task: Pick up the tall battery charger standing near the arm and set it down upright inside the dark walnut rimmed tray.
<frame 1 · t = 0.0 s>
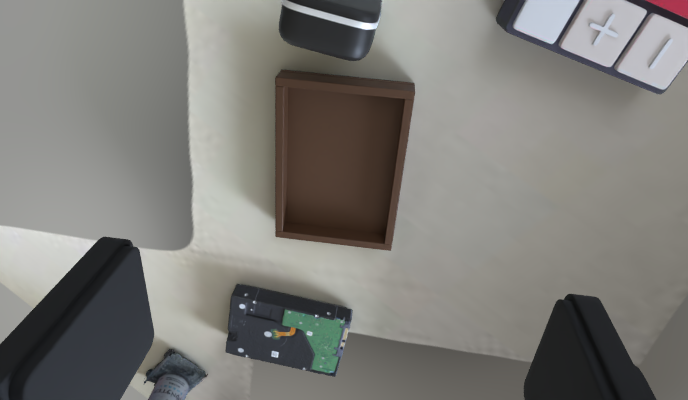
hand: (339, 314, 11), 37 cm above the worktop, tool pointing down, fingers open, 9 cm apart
tray: (341, 160, 50), on the worktop
disk drive: (290, 322, 63), on the worktop
grey cylinder on base: (179, 368, 70), on the worktop
battery charger: (341, 4, 42), on the worktop
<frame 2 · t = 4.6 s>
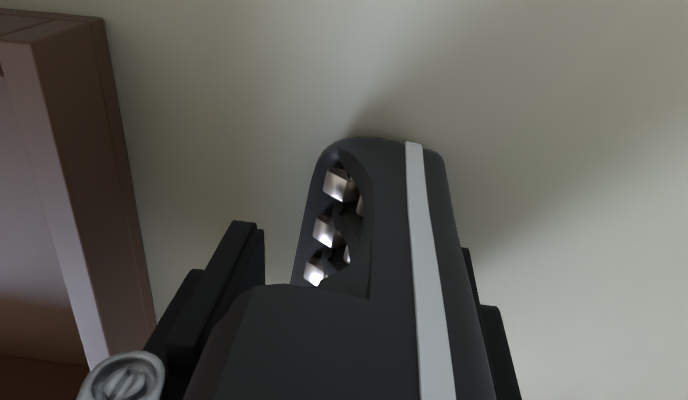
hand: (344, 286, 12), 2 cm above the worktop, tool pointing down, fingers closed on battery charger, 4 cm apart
battery charger: (346, 229, 14), on the worktop, touching gripper
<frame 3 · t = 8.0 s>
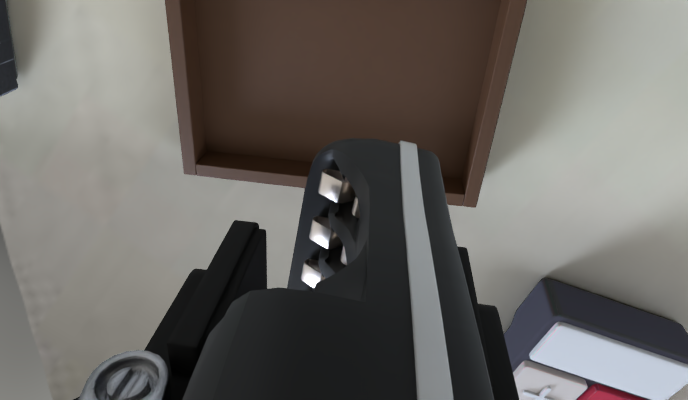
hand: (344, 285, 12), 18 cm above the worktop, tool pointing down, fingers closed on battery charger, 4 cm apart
calculator: (554, 364, 38), on the worktop
tray: (339, 74, 28), on the worktop
battery charger: (342, 230, 14), point 16 cm above the worktop, touching gripper
when the fingers open (3 cm above the worktop, at t = 11.8 s): battery charger stays where it is, resting on tray.
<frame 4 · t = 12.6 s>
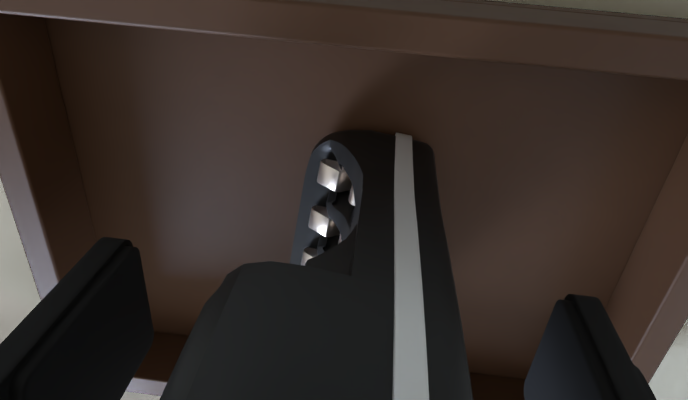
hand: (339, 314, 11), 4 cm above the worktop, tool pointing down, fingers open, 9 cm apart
tray: (351, 213, 15), on the worktop
battery charger: (341, 221, 14), resting on tray
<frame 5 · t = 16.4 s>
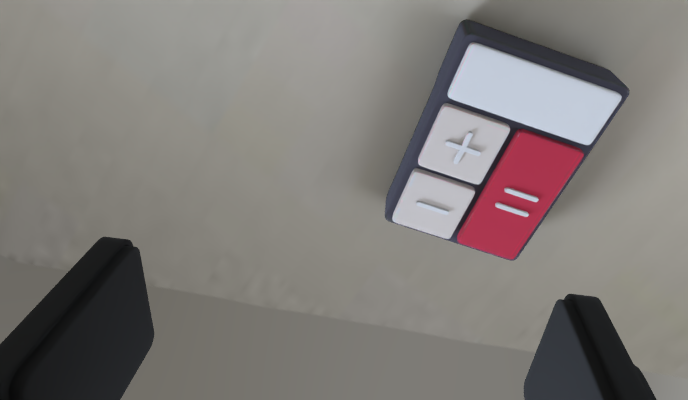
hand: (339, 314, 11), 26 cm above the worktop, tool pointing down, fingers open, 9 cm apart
calculator: (487, 140, 36), on the worktop
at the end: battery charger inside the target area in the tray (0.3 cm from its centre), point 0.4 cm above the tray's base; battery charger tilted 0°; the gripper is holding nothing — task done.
